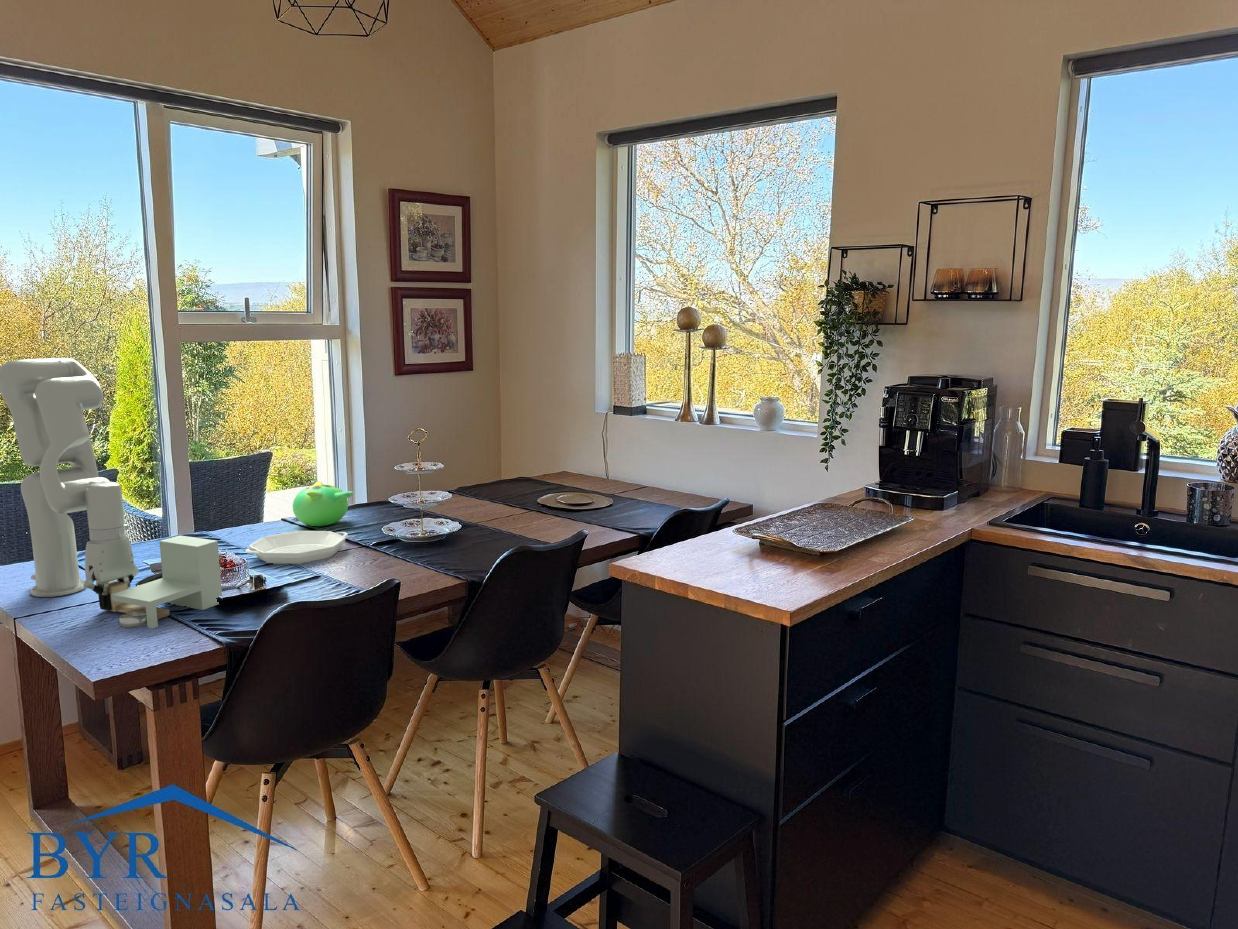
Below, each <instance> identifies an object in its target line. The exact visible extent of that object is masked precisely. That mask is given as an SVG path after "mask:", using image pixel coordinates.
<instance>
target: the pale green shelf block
mask: <svg viewBox="0 0 1238 929" xmlns="http://www.w3.org/2000/svg"><path fill="white" fill-rule="evenodd" d="M159 551H160V554H159V555H160V562H161V563H160V564H161V573H162V576H163V578H161V579H158V580H155V581H152V582H148V583H145V584H142V585H139V586H136V587H135V586H133V587H129V588H128V589H126V590H123V591H120V592H117V593H113V594H111V600H112V601H117V602H122V603H127V604H132V605H138V606H143V607H146V615H147V624H146V625H147V629H150V630H151V629H152V630H153V629H155V628H158V627H159V624H158V619H157V611H156V607H158V606H160V605H163V604H168V603H172V604H171V605H173V604H176V605H175V606H180V607H184V606H187V607H186V608H189V607H190V608H191V609H194V610H200V611H204V610H206V609H209V608H211V607H214V606H218V605H220V604H219V602H217V599H216V598H218V597H219V596H222V597H223V592H222V591H223V590H222V578H221V569H220V564H219V557H220V552H219V541H218V540H216V539H215V540H214V539H207V538H200V537H194V536H185V535H176V536H172V537H169V538H164V539H162V540H159ZM166 602H168V603H166Z"/></svg>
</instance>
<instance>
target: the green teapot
mask: <svg viewBox="0 0 1238 929" xmlns="http://www.w3.org/2000/svg"><path fill="white" fill-rule="evenodd" d="M354 493H355V492H354V491H353V490H352V491H350V490H349V491H343V490H342V489H341V488H339V487H337V486H334V485H331V484H330V485H329V484H323V482H321V481H320V480H318V481H316V482H315V483H313V485H311V486H308V487H305V488H303V489H301V490H300V491H299V492H297V494H296V495H295V497H294V499H293V503H292V512H293V514H294V516H295V517H296V519H297V520H298V521H299V522H301V523H302V524H304V525H307V526H312V527H325V526H330V525H332V524H335V523H337V522H339V521H340V520H342V519H343V517H344V516H345V515H346V514H347V512H348V508H349V500H348V498H350V497H352V496H353V495H354Z"/></svg>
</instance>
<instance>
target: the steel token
mask: <svg viewBox="0 0 1238 929" xmlns="http://www.w3.org/2000/svg"><path fill="white" fill-rule="evenodd" d="M118 619H119V627H120V628H122V629H135V628H136V629H137V628H139V627H143V626H146V625H147V615H146V612H143V611H138V612H130V613H124V614H122V615H120V616H119V618H118Z"/></svg>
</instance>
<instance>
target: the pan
mask: <svg viewBox="0 0 1238 929" xmlns="http://www.w3.org/2000/svg"><path fill="white" fill-rule="evenodd" d="M348 536H349V534H348V533H347V532H345V531H339V532H333V531H329V530H328V531H327V530H295V531H290V532H289V531H288V532H283V533H277V534H272V535H267V536H262V537H261V538H258V539H257V540H255V541H254V542H252V543H251V544H249V545H248V548H246V549H245V550H244V552H245V553H247V554H251V555H255V556H256V557H257V559H259V558H260V559H261V561H262V560H263V561H262V562H264V561H266V562H268V563H273V564H272V565H289V564H292V565H304V564H309V563H315V562H319V561H324V560H325V561H326V560H328V559H330V558H332V557H333V556H334V555H336V554H337V553H338V552H339V551H340V549H341V548H342V546H343V545H344V544H345V542H346V538H347V537H348ZM260 559H259V560H260ZM266 562H265V563H266ZM268 563H267V564H268Z"/></svg>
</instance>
